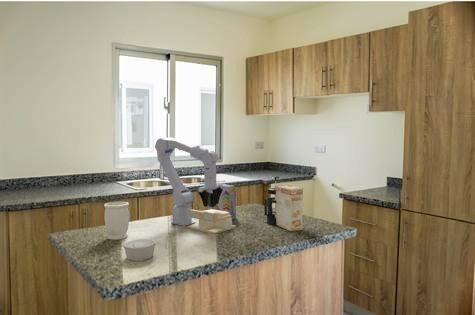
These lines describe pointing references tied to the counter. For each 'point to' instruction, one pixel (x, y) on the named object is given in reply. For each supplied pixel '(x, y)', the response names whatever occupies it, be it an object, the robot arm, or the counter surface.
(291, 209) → the coffeecake box
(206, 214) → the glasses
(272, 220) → the french press
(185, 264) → the counter surface
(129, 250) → the ramekin
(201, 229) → the stand
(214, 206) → the cake pan box
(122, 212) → the jar
